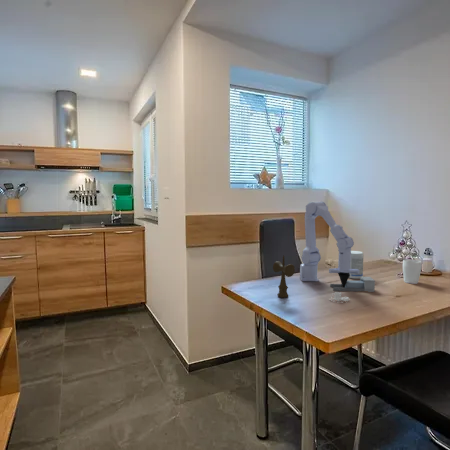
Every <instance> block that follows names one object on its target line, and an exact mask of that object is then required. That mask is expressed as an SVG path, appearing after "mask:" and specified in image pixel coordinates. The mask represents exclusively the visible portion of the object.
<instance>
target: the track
mask: <svg viewBox="0 0 450 450" xmlns="http://www.w3.org/2000/svg"><path fill="white" fill-rule="evenodd" d="M359 281H364V288H343V287H342V284H341V283H330V284H329V288H332V291H334V292H358V291H368V292H367V293H370V292H371V293H375V288H376V287H375V285H376V280H375V279H374V278H372V277H371V276H363V277H360V278H359Z"/></svg>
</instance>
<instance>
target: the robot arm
mask: <svg viewBox="0 0 450 450" xmlns="http://www.w3.org/2000/svg"><path fill="white" fill-rule="evenodd" d="M317 217H321V218H322V219H323V220H324V222H325V223H326V224H327V225H328V226H329V228H330V230H329V231H330V233H331V235H332V236H333V238H334V239H335V241H336V246H337V250H338V261H337V263H338V264H337V265H338V266H337V268H328V273H329V274H338V278H339V280H340V284H342V287H341V288H345V285H346V282H347V280H349V279H350V278H349V277H350V274H349V273H355V274H359V270H358V269H350V261H351V251H352V248H353V247H354V244H355V242H354V239H353V238H352V237H350V236H349V235H348V234H347V233H346V231H344V228H343V226H342V225H340V224H337V223H336V221H335V219H334V217H333V216H332V214H331V212H330V211H329V206H328V205H327V204H326V202H324V201H310V202H308V203H307V204H306V205H305V214H304V232H305V233H304V234H305V236H304V238H305V247H304V248H303V250H302V255H301V261H302V263H300V267H299V278H300V281H302V282H319V281H320V279H318V266H319V262H320V261H321V259H322V257H321V253H320V249H319V248H318V247H317V238H316V237H317V235H316V218H317Z"/></svg>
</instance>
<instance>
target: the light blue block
mask: <svg viewBox="0 0 450 450" xmlns="http://www.w3.org/2000/svg"><path fill="white" fill-rule="evenodd" d="M345 288H364V281H360V280H349V279H348V280H347V282H346V285H345Z"/></svg>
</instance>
